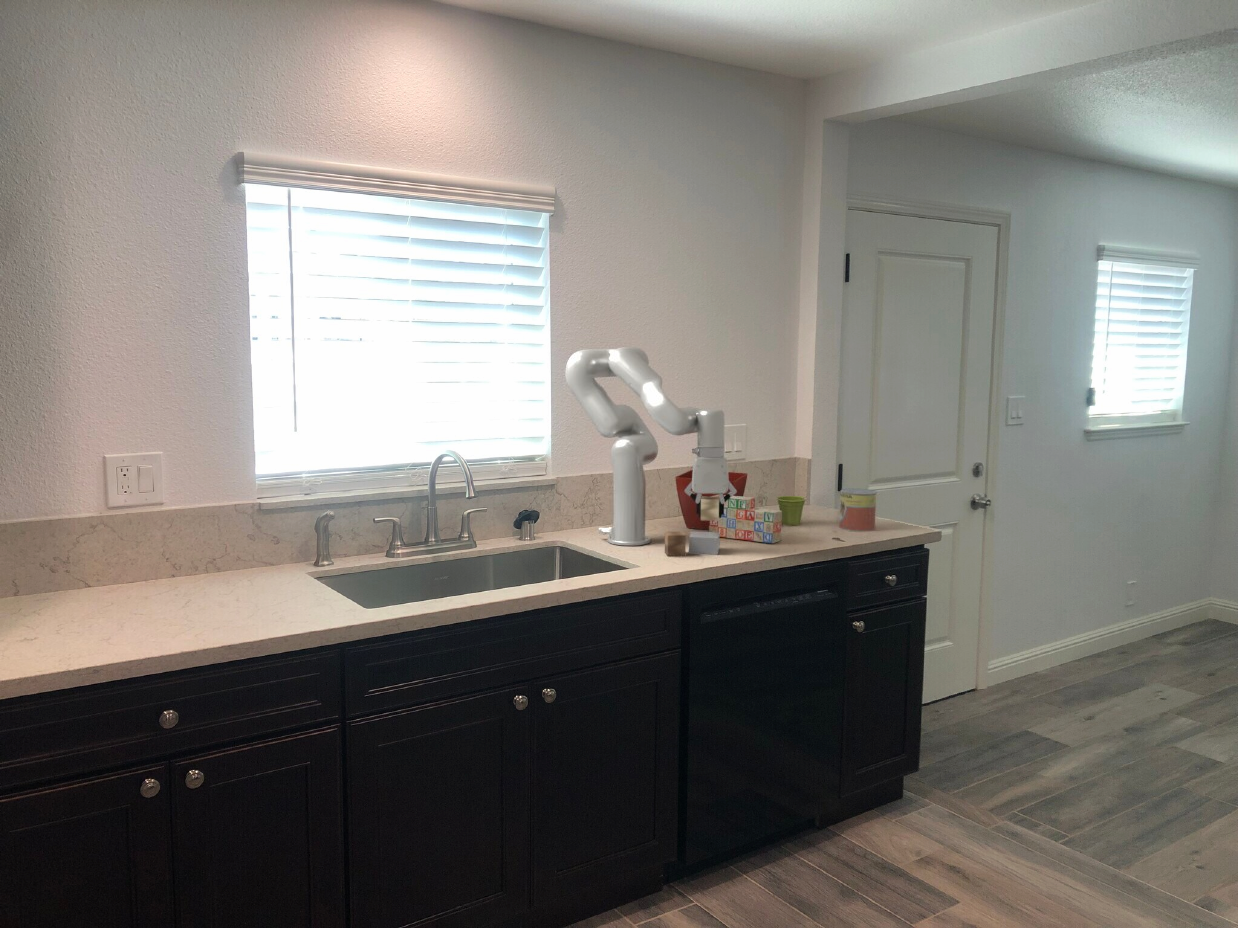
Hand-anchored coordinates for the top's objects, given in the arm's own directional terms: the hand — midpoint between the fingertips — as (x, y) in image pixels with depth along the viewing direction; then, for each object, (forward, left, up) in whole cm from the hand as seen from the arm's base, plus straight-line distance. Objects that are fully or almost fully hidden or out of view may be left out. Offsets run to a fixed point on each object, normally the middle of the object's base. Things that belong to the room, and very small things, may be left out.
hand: (710, 516), depth 265 cm
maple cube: (0, 0, -1) cm, 1 cm away
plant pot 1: (-2, +36, -10) cm, 37 cm away
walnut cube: (-9, -6, -10) cm, 15 cm away
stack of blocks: (+9, +19, -10) cm, 24 cm away
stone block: (-1, 0, -10) cm, 10 cm away
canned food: (+45, +43, -10) cm, 63 cm away
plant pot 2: (+24, +45, -10) cm, 52 cm away
